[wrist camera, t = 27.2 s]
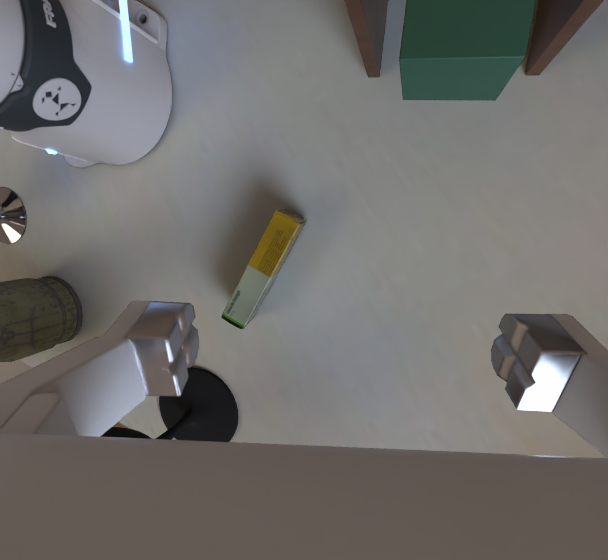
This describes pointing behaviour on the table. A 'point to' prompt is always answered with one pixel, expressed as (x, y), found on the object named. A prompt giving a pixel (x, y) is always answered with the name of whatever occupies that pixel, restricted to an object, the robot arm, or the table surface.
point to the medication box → (263, 267)
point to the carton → (462, 47)
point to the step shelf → (544, 46)
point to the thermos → (36, 316)
